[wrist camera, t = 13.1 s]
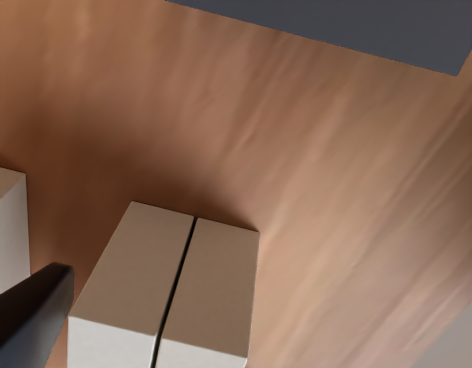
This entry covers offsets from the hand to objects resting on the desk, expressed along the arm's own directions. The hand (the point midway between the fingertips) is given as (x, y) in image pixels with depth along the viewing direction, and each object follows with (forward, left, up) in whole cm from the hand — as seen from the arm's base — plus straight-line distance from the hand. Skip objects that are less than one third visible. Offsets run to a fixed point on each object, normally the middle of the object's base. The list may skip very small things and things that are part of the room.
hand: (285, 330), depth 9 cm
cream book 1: (+5, +12, -13) cm, 18 cm away
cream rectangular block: (+1, +12, -13) cm, 18 cm away
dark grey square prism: (0, -5, -13) cm, 14 cm away
